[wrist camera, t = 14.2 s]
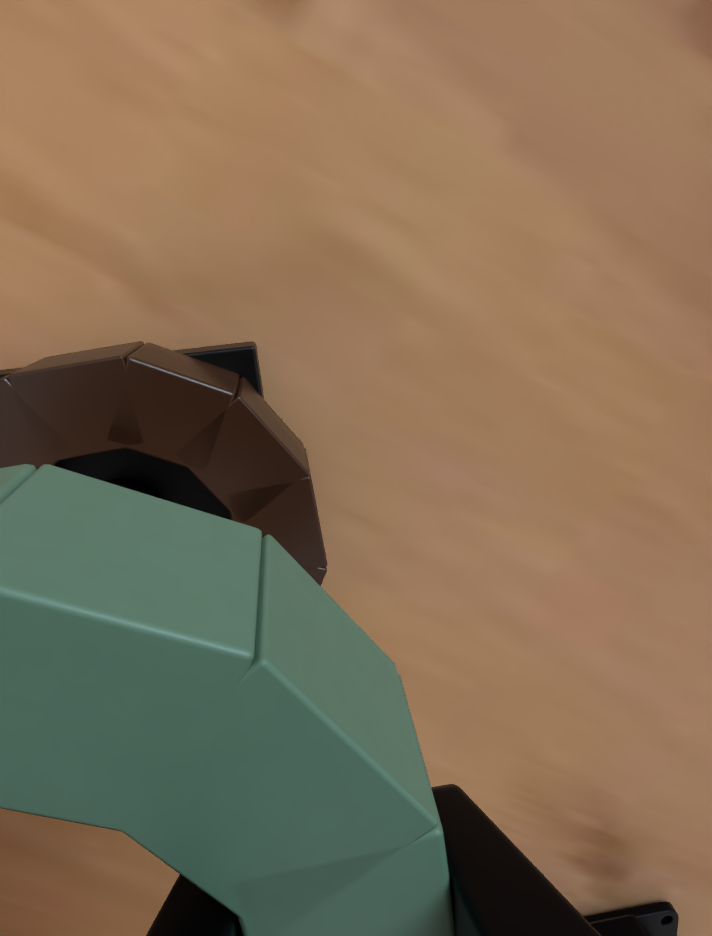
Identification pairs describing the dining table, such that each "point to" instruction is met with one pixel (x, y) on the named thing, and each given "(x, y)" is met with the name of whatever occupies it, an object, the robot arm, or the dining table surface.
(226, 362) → the peg stand
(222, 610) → the sage ring
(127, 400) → the walnut ring
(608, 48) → the dining table surface
